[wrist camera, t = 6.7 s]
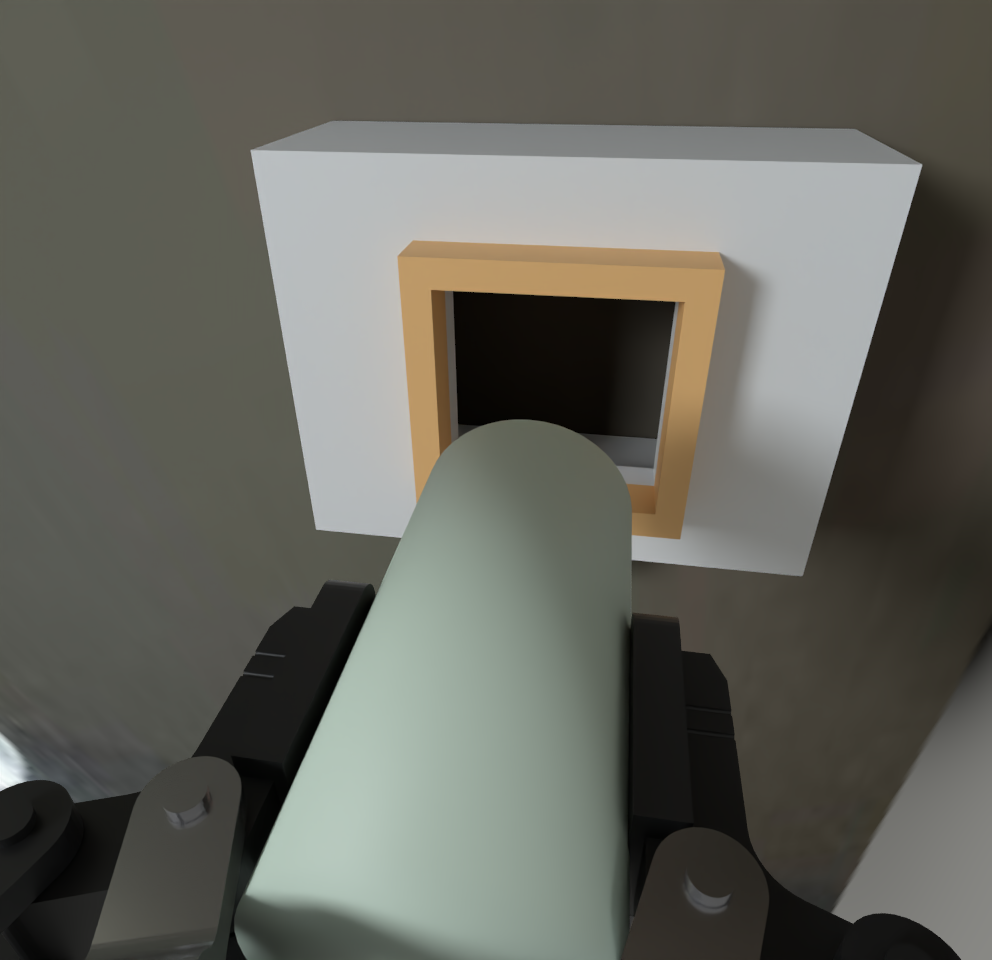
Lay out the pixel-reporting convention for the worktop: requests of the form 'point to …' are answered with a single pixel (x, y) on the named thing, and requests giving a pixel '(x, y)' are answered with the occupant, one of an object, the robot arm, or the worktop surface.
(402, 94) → the worktop surface
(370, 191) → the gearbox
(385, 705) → the pale green rounded piece
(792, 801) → the worktop surface
